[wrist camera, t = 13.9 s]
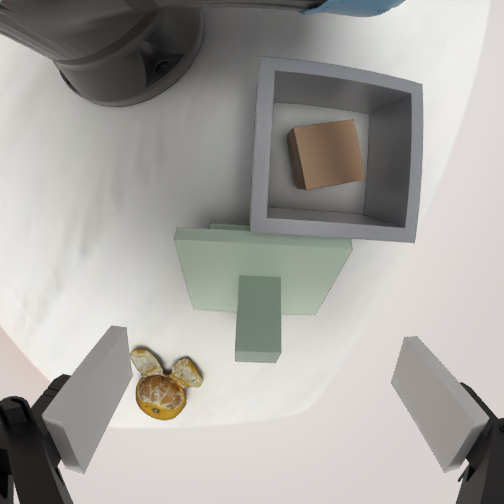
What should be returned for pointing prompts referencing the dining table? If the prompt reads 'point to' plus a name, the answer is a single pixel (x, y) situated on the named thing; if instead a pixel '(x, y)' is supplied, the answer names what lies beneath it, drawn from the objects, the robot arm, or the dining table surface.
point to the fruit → (163, 385)
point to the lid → (258, 279)
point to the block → (325, 154)
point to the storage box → (379, 149)
